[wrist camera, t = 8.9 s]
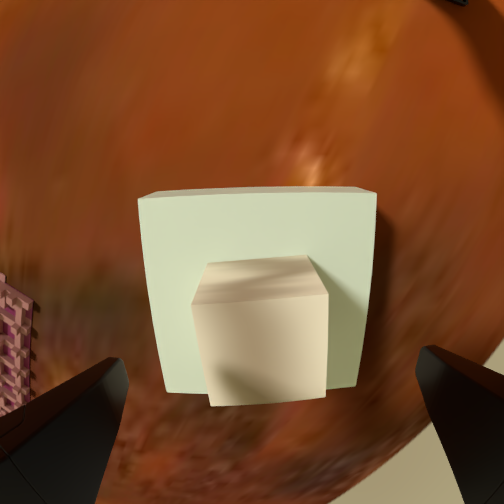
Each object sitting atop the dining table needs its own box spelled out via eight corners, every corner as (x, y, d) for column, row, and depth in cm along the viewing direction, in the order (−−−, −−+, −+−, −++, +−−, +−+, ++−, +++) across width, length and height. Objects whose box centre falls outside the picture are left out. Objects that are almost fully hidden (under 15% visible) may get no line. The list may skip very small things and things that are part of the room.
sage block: (353, 186, 19) (376, 193, 16) (341, 353, 23) (355, 386, 19) (158, 190, 19) (137, 198, 16) (178, 357, 23) (166, 392, 19)
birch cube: (306, 254, 16) (328, 293, 12) (308, 339, 18) (325, 396, 13) (207, 262, 16) (191, 305, 12) (219, 346, 18) (210, 406, 13)
